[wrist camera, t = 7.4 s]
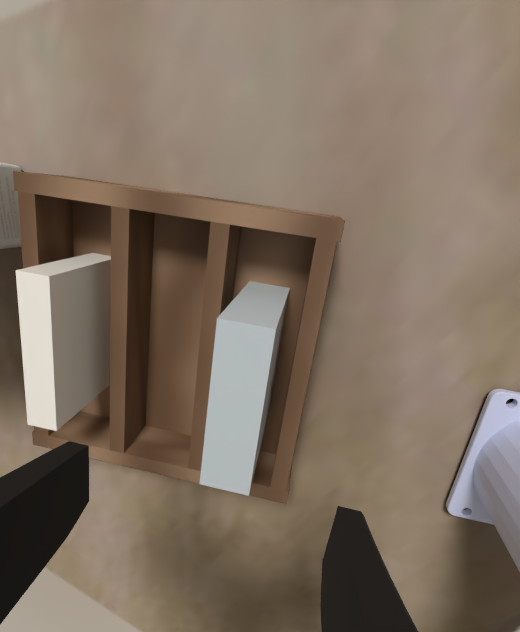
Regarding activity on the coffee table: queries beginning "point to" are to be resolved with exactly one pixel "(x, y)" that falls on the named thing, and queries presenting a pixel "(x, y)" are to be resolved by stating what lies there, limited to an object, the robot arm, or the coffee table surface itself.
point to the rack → (180, 312)
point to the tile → (64, 336)
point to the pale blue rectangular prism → (242, 385)
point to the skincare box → (9, 208)
